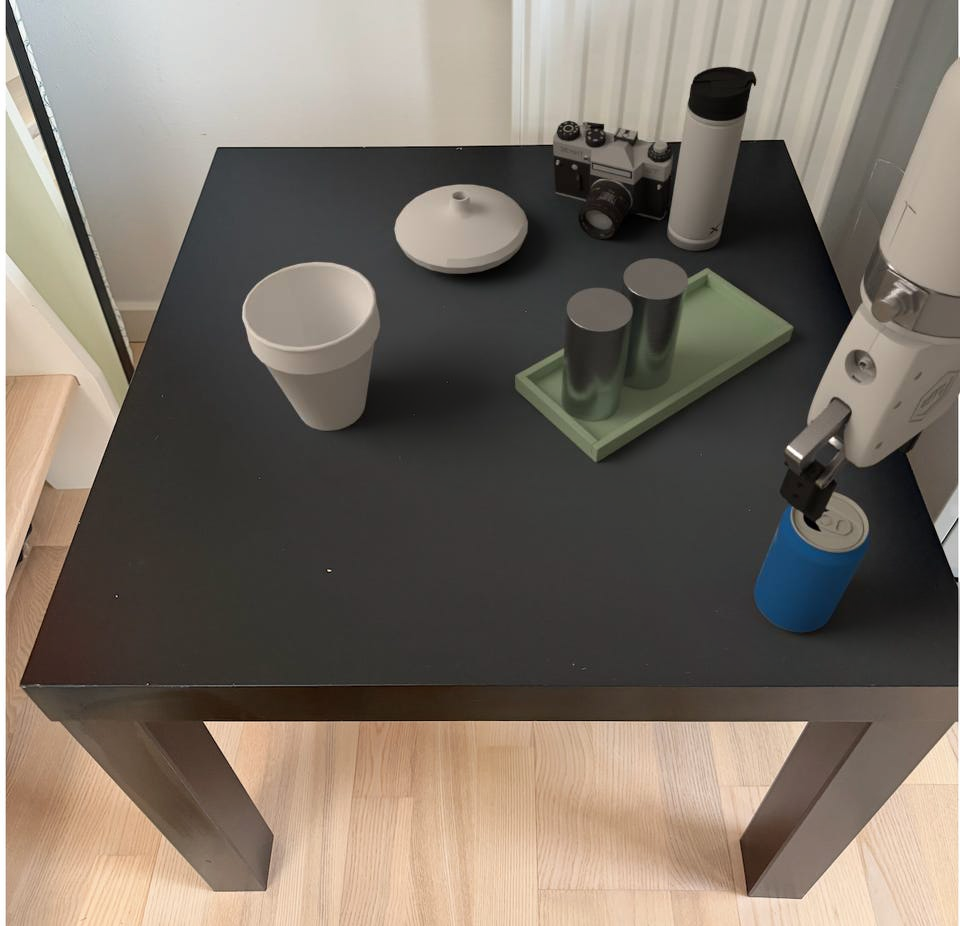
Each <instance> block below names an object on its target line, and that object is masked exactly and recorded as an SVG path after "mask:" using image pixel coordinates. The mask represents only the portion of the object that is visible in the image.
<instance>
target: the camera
mask: <svg viewBox="0 0 960 926" xmlns="http://www.w3.org/2000/svg"><path fill="white" fill-rule="evenodd" d="M552 147H553V149H552V150H553V151H552V152H553V167H554V187H555V188H554V189H555V194H556V195H560V196H563V197H566V198H571V199H575V200H578V201H583V204H582V205H581V207H580V210H579V211H578V215H577V217H578V219H577V221H578V224H579V227H580V228H581V230H583V232H584V233H586V234H587V235H588V236H590V237H592V238H594V239H598V240H606V239H609V238H611V237H613V236H614V235H616V233H617V231H618V230H619V228H620V227H621V225H622V223H623V220H624V219H625V218H626V216H627V215H638V216H641V217H646V218H650V219H654V220H657V221H662V220H663V219H664V218H665V216H666V215H667V212H669V210H670V208H671V206H670V205H671V194H672V185H673V175H674V174H673V173H674V171H673V170H672V169H673V159H674V154H673V148H672V146H671V145H670V144H669V143H667V141H664V140H662V139H659V140H657V141H655V142H651V141H648V140H643V139H639V130H632V129H631V130H630V129H625V128H622V127H621V126H620V125H618V126H617V128H616V130H615V132H614V133H611V132H607V131H605V123H600V122H599V123H597V122H591V121H590V122H589V121H582V124H581V125H579V124H578V123H577V122H576V121H571V120H565V121H563V122H561V123H560V124H559V125H558V127H557V129H556V131H555V134H554V135H553V137H552Z"/></svg>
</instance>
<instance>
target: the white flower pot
mask: <svg viewBox="0 0 960 926" xmlns="http://www.w3.org/2000/svg"><path fill="white" fill-rule="evenodd" d="M376 296H377V295H376V291H375V288H374V287H373V285H372V283H371V281H370V280H369V279H367V278H366V276H364V275H363V274H362V273H361V272H359V271H357V270H356V269H353V268H351V267H349V266H347V265H343V264H340V263H334V262H327V261H325V262H323V261H312V262H303V263H297V264H293V265H290V266H286V267H282V268H281V269H279V270H277V271H275V272H272V273H270V274H269V275H267V276H265V277H264V278H263V279H261V280H260V281H259V282H258V283H256V284H255V285H254V287H252V289H251V290H250V291H249V293H248V294H247V295H246V298H245V300H244V302H243V304H242V316H241V317H242V319H241V320H242V322H243V324H244V327H245V330H246V335H247V340H248V343H249V346H250V349H251V351H252V353H253V354H254V355H255V357H257V359H258V360H259V361H260V362H261V363H263V364H264V365H265V366H266V368H267V370H268V371H269V373H270V374H271V376H272V377H273V379H274V380H275V381H276V383H277V385H278V386H279V388H280V389H281V391H282V392H283V394H284V395H285V397H286V398H287V400H288V401H289V402H290V404H291V406H292V407H293V409H294V410H295V412H296V413H297V415H298V416H299V418H300V419H301V420H302V421H303V422H304V424H306V426H308V427H309V428H312V429H314V430H318V431H325V432H326V431H327V432H331V431H332V432H333V431H338V430H342V429H344V428H347V427H349V426H351V425H352V424H355V423H356V422H357V421H358V419H360V417H362V414H363V413H364V410H365V407H366V402H367V394H368V389H369V382H370V374H371V368H372V360H373V356H374V355H373V354H374V349H375V348H374V347H375V341H376V340H377V339H378V336H379V332H380V328H381V319H380V313H379V308H378V305H377V297H376Z"/></svg>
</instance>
